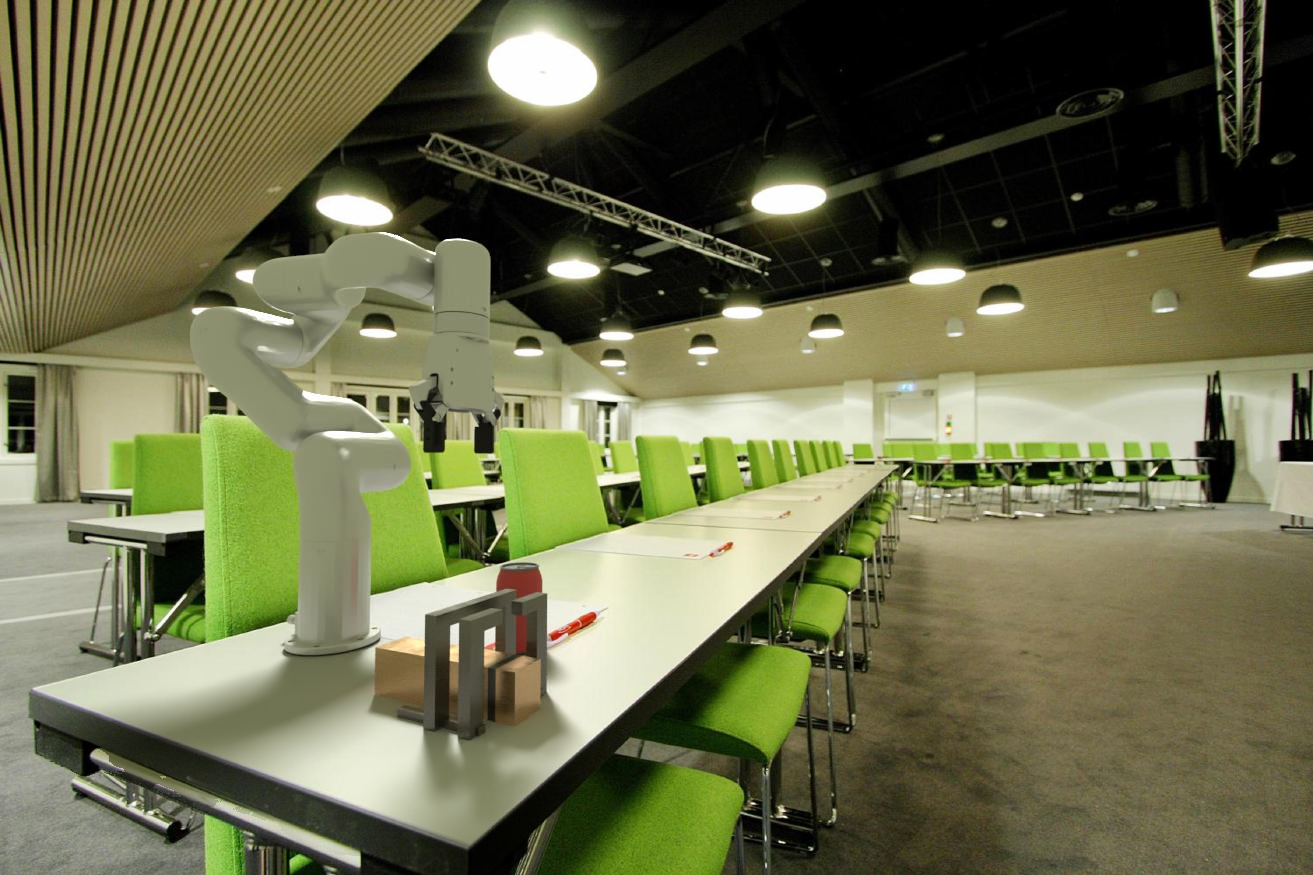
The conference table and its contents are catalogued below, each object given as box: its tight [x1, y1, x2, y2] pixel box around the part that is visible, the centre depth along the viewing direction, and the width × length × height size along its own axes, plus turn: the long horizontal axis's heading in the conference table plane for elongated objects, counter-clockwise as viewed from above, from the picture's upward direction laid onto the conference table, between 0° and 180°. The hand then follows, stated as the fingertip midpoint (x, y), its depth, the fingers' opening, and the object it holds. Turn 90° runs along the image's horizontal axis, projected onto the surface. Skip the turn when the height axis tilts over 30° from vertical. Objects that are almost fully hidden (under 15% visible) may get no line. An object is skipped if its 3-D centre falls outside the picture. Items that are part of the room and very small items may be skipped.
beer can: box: [495, 561, 543, 655], centre depth 84 cm, size 7×7×12 cm
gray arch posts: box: [396, 589, 548, 741], centre depth 65 cm, size 11×13×12 cm
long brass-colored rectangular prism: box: [374, 636, 541, 727], centre depth 66 cm, size 20×4×6 cm, turn 66°
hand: (460, 453), depth 81 cm, fingers open, 9 cm apart
